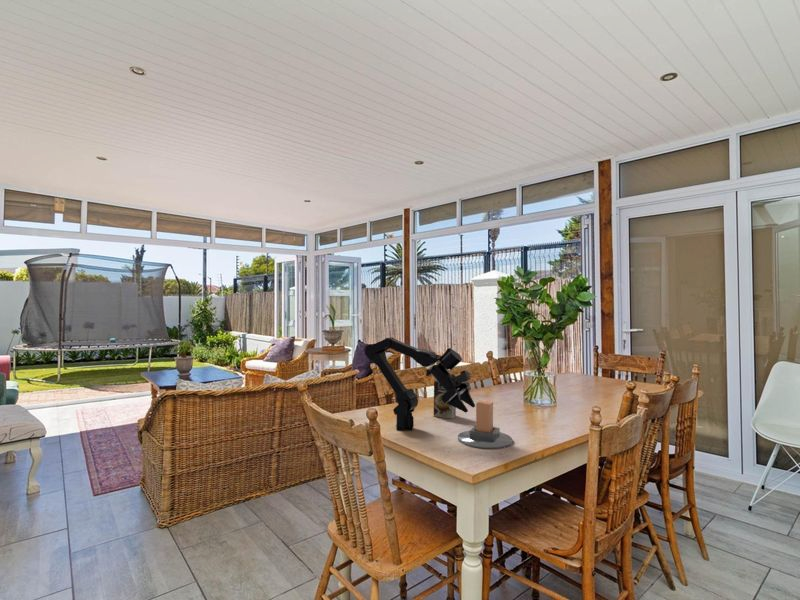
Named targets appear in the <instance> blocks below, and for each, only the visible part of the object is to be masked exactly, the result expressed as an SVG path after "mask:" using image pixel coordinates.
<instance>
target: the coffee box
mask: <svg viewBox="0 0 800 600" xmlns="http://www.w3.org/2000/svg"><path fill="white" fill-rule="evenodd" d="M445 392H446V391H445V390H444V388H443V387H440V386H439V382H438V381H437V380H436V379H435V380H434V381H433V417H434V416H435V418H442V417H443V419H451V418H452V419H454V418H455V417H456V416H457V413H456V412H457V411H456V410H457V408H456V407H453V406H451V405H449V404H447V403H448V402H449V400H448V402H447V403H444V402H443V401H442V400H441V396H442V395H443V394H444V393H445ZM453 417H454V418H453Z"/></svg>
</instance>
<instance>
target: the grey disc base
mask: <svg viewBox="0 0 800 600" xmlns="http://www.w3.org/2000/svg"><path fill="white" fill-rule="evenodd" d="M457 441H458V442H459V443H461V445H465V446H467V447H472V448H476V449H485V450H494V449H495V450H497V449H504V447H505V448H507V446H508V447H510V446H512V445H513V438H512V437H511V435H509V434H506V433H503V432H501V429H500V427H494V426H493V432H492V433H489V432H481V431H476V425H474V426H473V427H472V428H471V429H470V430H465V431H462V432H460V433H458V434H457Z"/></svg>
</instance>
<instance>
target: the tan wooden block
mask: <svg viewBox="0 0 800 600" xmlns="http://www.w3.org/2000/svg"><path fill="white" fill-rule="evenodd" d="M475 408H476V409H475V410H476V411H475V413H476V414H475V424H476V425H475V426H476V431H481V432H489V433H492V432H493V427H494V402H493V401H486V400H479V401H478V402H476V403H475Z"/></svg>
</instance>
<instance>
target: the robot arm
mask: <svg viewBox="0 0 800 600" xmlns="http://www.w3.org/2000/svg"><path fill="white" fill-rule="evenodd" d="M389 349H391V350H394V351H396V352H397V353H400V354H402V355H404V356H406V357H410V358H411V359H412V360H414V361H415V362H416V363H417V364H418V365H420V366H421V367H424V368H427V369H426V370H425V371H426V373H425V376H426V377H429V376H432V377H434V379H435V380H437V381H438V382H439V386H440V387H443V388H444V390H445V391H446V392H445V393H444V394H443V395H442V396H441V400H442V401H443V402H444V403H447V402H448V400H449V402H448V403H447V404H449V405H451V406H453V407H456V409H457V410H460V411H462V412H464V413H468V411H469V410H468V407H466V404H467V405H468V406H470V407H472V408H476V403H475V401H474V399H473V398H472V396H471V393H470V391H471V385H470V383H469V382H468V381H470V380H472V379H471V373H470V372H469V371H467V370H466V369H465V370H464V369H463V370H461V371H460V373H459V374H458V375H455V374H453V373H452V374H451V373H450V372H449V370H450V371H453V370H454V368H455V367H457V366H458V365H459V364H460V363H461V362H462V361H463V358H462V356H461V355H460V354H459V353H458V352H457V351H456V350H453V349H452V347H448V348H447V349H446V351H445V352H444V353H442V355H439V354H436V352H434V351H432V350H427V349H420V348H416V347H415V346H412V345H410V344H408V343H405V342H402V341H400V340H398V339H395V338H394V337H392V336H391V337H385V338H384V339H382V340H381V341H378V342H375V343H371V344H370V343H368V344H367V345H365V348H364V351H363V352H364V355H365V357H366V358H367V359H368V360H369V361H370V362H372V363H373V364H375V365H376V366H377V368H378V369H379V371H380V372H381V374H382V375H383V377H384V378H385V380H386V381H387V383H388V384H389V386H390V388H391V389H392V391H393V392H394V393H395V399H396V403H397V405H395V407H394V408H393V409H392V410H393V414H394V415H395V416H396V423H395V428H396V430H397V431H413V428H414V424H415V423H414V419H415V418H414V416H413V413H414V411H415V409H416V408H417V406H418V404H419V399H418V395H417V393H415V391H414V389H413V388H409V389H408V388H407V387H406V386H405V385H404V383H403V382H402V380H401V379H400V377H399V376H398V375H397V373H396V371H395V369H394V368H393V367H392V365H391V364H390V362H389V361H388V359H387V354H386V353H387V352H386V351H388V350H389ZM436 363H438V364H436ZM430 366H431V367H430ZM428 367H430V368H428Z"/></svg>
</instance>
